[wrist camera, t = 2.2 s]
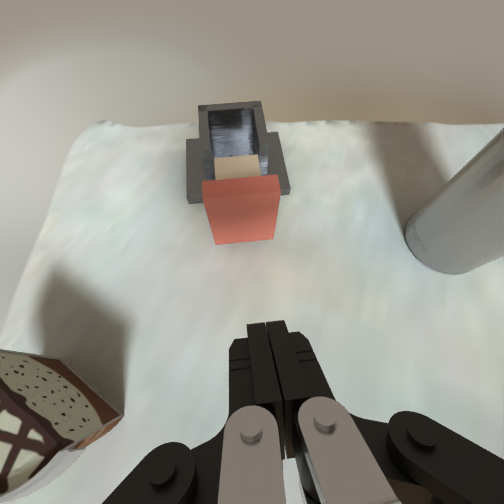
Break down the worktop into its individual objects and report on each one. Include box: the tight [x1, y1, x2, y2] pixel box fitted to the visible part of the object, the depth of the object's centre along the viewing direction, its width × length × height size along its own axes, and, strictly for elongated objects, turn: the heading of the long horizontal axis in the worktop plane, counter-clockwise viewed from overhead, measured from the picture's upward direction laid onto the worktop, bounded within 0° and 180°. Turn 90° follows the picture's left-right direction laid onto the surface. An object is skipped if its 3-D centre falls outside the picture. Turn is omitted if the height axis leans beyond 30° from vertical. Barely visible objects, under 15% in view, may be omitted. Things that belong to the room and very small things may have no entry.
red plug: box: [202, 154, 281, 245], centre depth 29 cm, size 7×9×9 cm
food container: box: [0, 349, 124, 503], centre depth 20 cm, size 12×6×10 cm, turn 57°
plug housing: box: [186, 101, 290, 204], centre depth 35 cm, size 14×11×6 cm
